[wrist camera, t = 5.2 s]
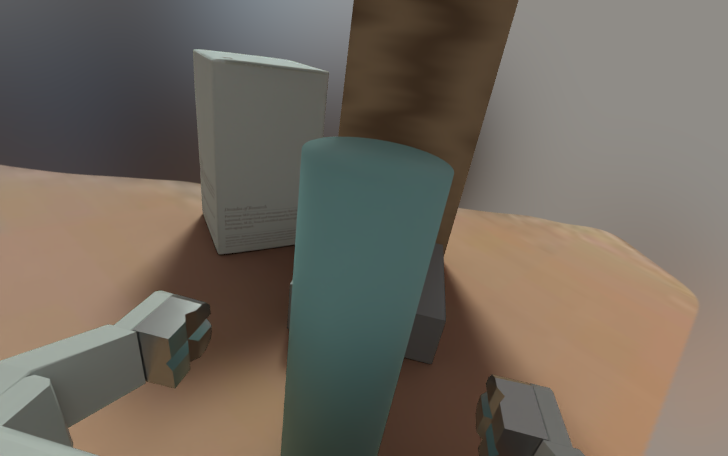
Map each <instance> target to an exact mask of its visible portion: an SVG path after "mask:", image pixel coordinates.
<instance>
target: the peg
mask: <svg viewBox="0 0 728 456" xmlns="http://www.w3.org/2000/svg"><path fill="white" fill-rule="evenodd" d="M453 176H454V170H453V168H452V167H451V166H450V165H449V164H448V163H447V162H445V161H444V160H442V159H440V158H439V157H437V156H435V155H432V154H430V153H428V152H425V151H422V150H419V149H416V148H413V147H410V146H406V145H402V144H398V143H393V142H389V141H383V140H377V139H370V138H360V137H325V138H318V139H314V140H311V141H308V142H306V143H305V144H304V145H303V146H302V152H301V166H300V181H299V195H298V210H297V225H296V239H295V254H294V269H293V283H292V298H291V313H290V327H289V342H288V357H287V371H286V386H285V401H284V415H283V430H282V444H281V456H377V455H378V451H379V447H380V444H381V440H382V436H383V433H384V429H385V425H386V422H387V418H388V414H389V411H390V407H391V403H392V400H393V396H394V392H395V389H396V385H397V381H398V378H399V374H400V370H401V367H402V363H403V359H404V356H405V352H406V348H407V345H408V341H409V337H410V334H411V330H412V326H413V323H414V319H415V315H416V312H417V308H418V304H419V301H420V297H421V293H422V290H423V286H424V283H425V279H426V275H427V272H428V268H429V264H430V261H431V257H432V253H433V250H434V246H435V242H436V239H437V235H438V231H439V228H440V224H441V220H442V217H443V213H444V209H445V206H446V202H447V198H448V195H449V191H450V187H451V184H452V180H453Z"/></svg>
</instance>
